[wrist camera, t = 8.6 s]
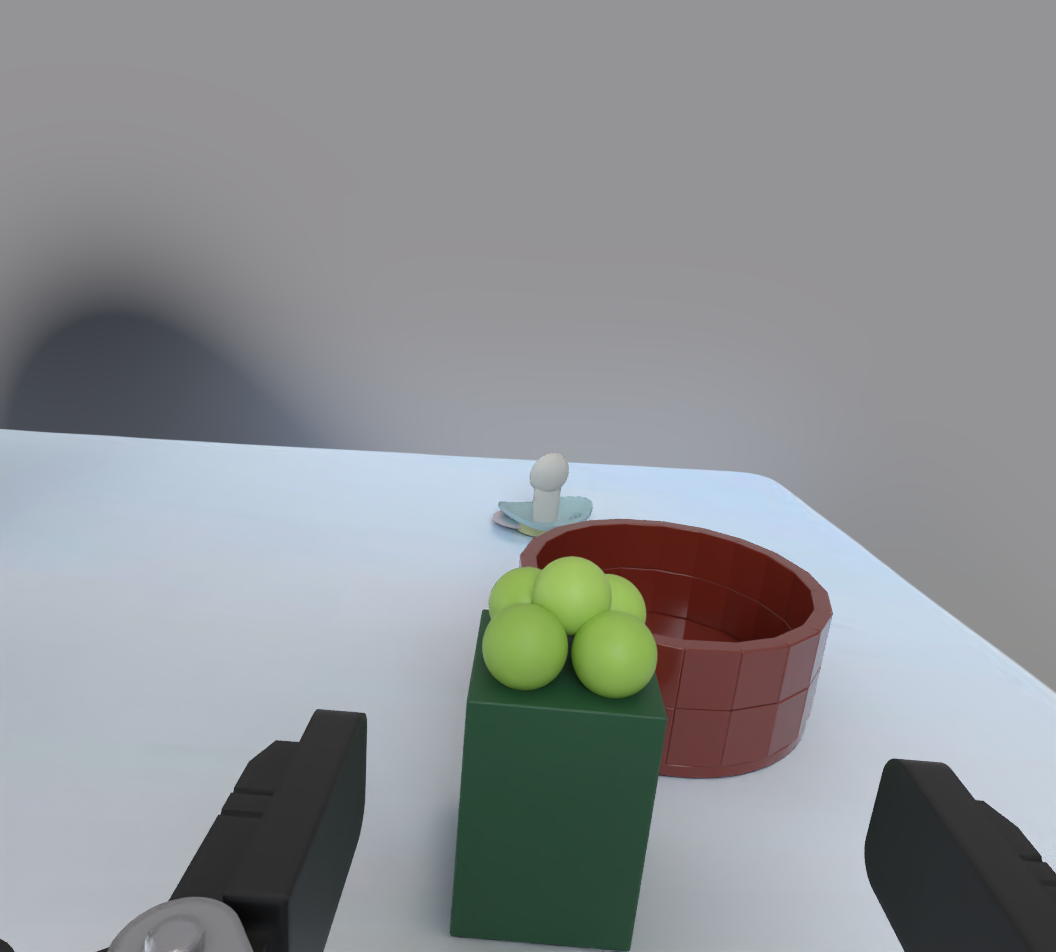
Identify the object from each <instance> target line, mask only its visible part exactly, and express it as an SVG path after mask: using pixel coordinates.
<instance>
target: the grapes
mask: <svg viewBox="0 0 1056 952" xmlns="http://www.w3.org/2000/svg"><path fill="white" fill-rule="evenodd" d="M645 621H646V607H645V602H644V600H643V597H642V595H641V593H640V592H639V590H638V589H637V588H636V587H635V586H634V585H633V584H632V583H631V582H630V581H628V580H627V579H625V578H623V577H620V576H618V575H613V574H604V572H603V571H602V570H601V569H600V568H599V567H598V566H597V565H596V564H594V563H593V562H591V561H589V560H587V559H584V558H581V557H574V556H570V557H563V558H559V559H557V560H554V561H553V562H551V563H549V564H548V565H547V566H546V567H545V568H544V569H543V570H541V569H538V568H534V567H520V568H516V569H513V570H511V571H509V572H507V573H506V574H504V575H503V576H502V577H501V578H500V579H499V580H498V581H497V582H496V584H495V585H494V587H493V589H492V591H491V594H490V597H489V610H486V609H484V610H483V611H482V615H481V621H480V627H479V633H478V639H477V645H476V651H475V656H474V662H473V668H472V674H471V680H470V686H469V691H468V697H467V705H466V719H465V733H464V746H463V760H462V774H461V787H460V801H459V815H458V829H457V842H456V856H455V870H454V884H453V897H452V911H451V925H450V934H451V936H459V937H470V938H482V939H493V940H505V941H517V942H528V943H540V944H551V945H563V946H574V947H586V948H598V949H609V950H621V951H629V950H630V947H631V941H632V935H633V929H634V922H635V916H636V910H637V904H638V898H639V892H640V885H641V879H642V873H643V867H644V861H645V855H646V849H647V842H648V836H649V830H650V824H651V818H652V812H653V806H654V799H655V793H656V787H657V781H658V775H659V769H660V763H661V756H662V750H663V744H664V738H665V732H666V726H667V715H666V712H665V708H664V704H663V700H662V696H661V692H660V688H659V684H658V680H657V677H656V673H655V669H656V665H657V656H658V655H657V647H656V642H655V640H654V637H653V635H652V633H651V632H650V630H649V629H648V627H647V626H646V625H645Z"/></svg>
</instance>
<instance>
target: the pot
mask: <svg viewBox="0 0 1056 952" xmlns="http://www.w3.org/2000/svg"><path fill="white" fill-rule="evenodd" d="M570 556H574V557H581V558H584V559H587V560H589V561H591V562H593V563H594V564H596V565H597V566H598V567H599V568H600V569H601V570H602V571H603V572H604V574H613V575H618V576H620V577H623V578H625V579H627V580H628V581H630V582H631V583H632V584H633V585H634V586H635V587H636V588H637V589H638V590H639V592H640V593H641V595H642V597H643V600H644V602H645V607H646V621H645V625H646V626H647V627H648V629H649V630H650V632H651V633H652V635H653V637H654V640H655V642H656V647H657V655H658V656H657V665H656V669H655V673H656V677H657V680H658V684H659V688H660V692H661V696H662V700H663V704H664V708H665V712H666V715H667V726H666V732H665V738H664V744H663V750H662V756H661V763H660V769H659V775H665V776H672V777H685V778H719V777H727V776H735V775H740V774H745V773H749V772H753V771H756V770H759V769H762V768H764V767H767V766H769V765H772V764H773V763H775V762H777V761H778V760H780V759H782V758H784V757H785V756H786V755H787V754H788V753H789V752H791V751H792V750H793V749H794V748H795V746H796V745H797V744H798V742H799V741H800V739H801V738H802V735H803V732H804V730H805V726H806V722H807V720H808V718H809V716H810V712H811V708H812V703H813V699H814V695H815V690H816V686H817V681H818V677H819V672H820V668H821V663H822V659H823V655H824V650H825V646H826V641H827V637H828V632H829V628H830V624H831V619H832V615H833V612H832V608H831V604H830V600H829V596H828V593H827V591H826V590H825V589H824V588H823V587H822V586H821V585H820V584H819V583H818V582H817V581H816V580H815V579H814V578H813V577H812V576H811V575H810V574H809V573H808V572H807V571H805V570H803V569H802V568H800V567H798V566H797V565H795V564H794V563H792V562H790V561H789V560H787V559H785V558H784V557H782V556H780V555H778V554H777V553H775V552H772V551H770V550H768V549H765V548H763V547H760V546H758V545H755V544H753V543H751V542H748V541H746V540H743V539H740V538H736V537H733V536H729V535H726V534H722V533H719V532H715V531H711V530H708V529H704V528H699V527H693V526H687V525H681V524H675V523H669V522H664V521H663V522H661V521H648V520H632V519H609V520H590V521H582V522H577V523H573V524H568V525H563V526H559V527H556V528H553V529H551V530H549V531H547V532H545V533H543V534H541V535H539V536H537V537H535V538H533V539H532V540H531V541H530V543H529V544H528V545H527V547H526V548H525V549H524V551H523V552H522V553H521V555H520V560H519V568H520V567H534V568H538V569H541V570H543V569H544V568H545V567H546V566H547V565H548V564H549V563H551V562H553V561H554V560H557V559H559V558H563V557H570Z"/></svg>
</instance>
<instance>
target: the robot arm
mask: <svg viewBox="0 0 1056 952" xmlns="http://www.w3.org/2000/svg"><path fill="white" fill-rule="evenodd" d="M366 746H367V718H366V714H365V713H358V712H346V711H334V710H322V709H317V710H316V711H315V712H314V714H313V716H312V718H311V720H310V722H309V724H308V726H307V728H306V730H305V732H304V734H303V736H302V738H301V740H300V742H290V741H278V740H276V741H275V742H273V743H272V744H271V745H269V746H268V747H267V748H266V749H264V750H263V751H262V752H261V753H259V754H258V755H257V756H256V757H254V758H253V759H252V760H250V761H249V763H248V765H247V766H246V768H245V770H244V771H243V773H242V775H241V777H240V778H239V780H238V782H237V784H236V785H235V787H234V792H233V793H231V794H230V796H229V797H228V799H227V801H226V803H225V804H224V806H223V808H222V811H221V815H218V816H217V818H216V820H215V822H214V823H213V825H212V827H211V828H210V830H209V832H208V834H207V835H206V837H205V839H204V841H203V842H202V844H201V846H200V847H199V849H198V851H197V853H196V854H195V856H194V858H193V860H192V861H191V863H190V865H189V866H188V868H187V870H186V872H185V873H184V875H183V877H182V879H181V880H180V882H179V884H178V885H177V887H176V889H175V891H174V892H173V894H172V896H171V898H170V899H169V901H168V902H165V903H162V904H160V905H157V906H155V907H153V908H151V909H149V910H147V911H146V912H144V913H142V914H141V915H139V916H138V917H136V918H135V919H134V920H132V921H131V922H130V923H129V924H128V925H127V926H126V927H125V928H124V929H122V930H121V931H120V933H119V934H118V935H117V936H116V938H115V939H114V940H113V942H112V943H111V945H110V947H108V948H106V949H103V950H100V951H97V952H323V951H324V948H325V944H326V941H327V938H328V935H329V932H330V929H331V925H332V922H333V919H334V916H335V913H336V910H337V907H338V903H339V900H340V897H341V894H342V891H343V888H344V884H345V881H346V878H347V875H348V872H349V869H350V865H351V862H352V859H353V856H354V853H355V850H356V846H357V843H358V840H359V836H360V831H361V827H362V821H363V814H364V806H365V786H366ZM865 865H866V871H867V875H868V879H869V882H870V884H871V887H872V889H873V891H874V893H875V895H876V897H877V899H878V901H879V903H880V904H881V906H882V908H883V910H884V912H885V914H886V916H887V918H888V920H889V922H890V924H891V926H892V928H893V930H894V932H895V934H896V936H897V938H898V940H899V942H900V944H901V946H902V947H903V949H904V951H905V952H1056V873H1055V872H1054V871H1053V870H1052V869H1051V867H1050V866H1049V865H1048V864H1047V863H1046V862H1042V856H1041V855H1040V854H1039V853H1038V851H1037V850H1036V849H1035V848H1034V847H1033V845H1032V844H1031V843H1030V842H1029V840H1028V839H1027V838H1026V837H1025V836H1024V834H1023V833H1022V832H1021V831H1020V829H1019V828H1018V827H1017V826H1015V825H1014V824H1013V823H1012V822H1010V821H1009V820H1008V819H1006V818H1005V817H1004V816H1002V815H1001V814H1000V813H998V812H997V811H996V810H995V809H993V808H992V807H991V806H989V805H988V804H987V803H985V802H984V801H978V800H975V799H974V798H973V796H972V795H971V794H970V793H969V791H968V790H967V789H966V788H965V786H964V785H963V784H962V782H961V781H960V780H959V779H958V777H957V776H956V775H955V773H954V772H953V771H952V770H951V769H950V767H949V766H947V765H946V764H944V763H940V762H928V761H916V760H904V759H890V760H889V761H888V762H887V763H886V765H885V767H884V769H883V772H882V776H881V780H880V784H879V788H878V792H877V796H876V800H875V804H874V808H873V812H872V816H871V820H870V824H869V828H868V832H867V836H866V841H865ZM0 952H14V950H13V948H12V947H11V946H10V945H9V944H8V943H7V942H5V941H3V940H1V939H0Z"/></svg>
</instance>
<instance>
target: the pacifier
mask: <svg viewBox="0 0 1056 952" xmlns="http://www.w3.org/2000/svg"><path fill="white" fill-rule="evenodd" d="M568 473H569V467H568V463H567V461H566V459H565V458H564V457H563V456H562V455H561V454H558V453H549V454H547V455H544V456H543V457H541V458H540V459H539V460H538V461H537V462H536V463H535V464H534V466H533V468H532V470H531V473H530V483H531V486H532V487H533V488H534V497H533V502H499V504H498V507H499V508H500V509H501V510H500V511H498V512H497V513H495V514H494V516H493V520H494V521H495V522H496V523H498V524H499V525H501V526H505V527H508V528H514V529H518V530H519V531H520V532H521V533H523V534H526V535H530V536H535V537H537V536H539V535H541V534H543V533H545V532H547V531H549V530H551V529H553V528H556V527H559V526H563V525H568V524H573V523H577V522H582V521H586V520H587V519H588V518H589V516H590V515H591V512H592V507H593V504H592V502H591V501H590V500H589V499H587V498H584V497H561V498H560V490H561V487H562V486H563V485H564V483H565V482H566V480H567V477H568ZM573 517H578V518H575V519H571V518H573ZM510 518H512V519H510Z"/></svg>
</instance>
